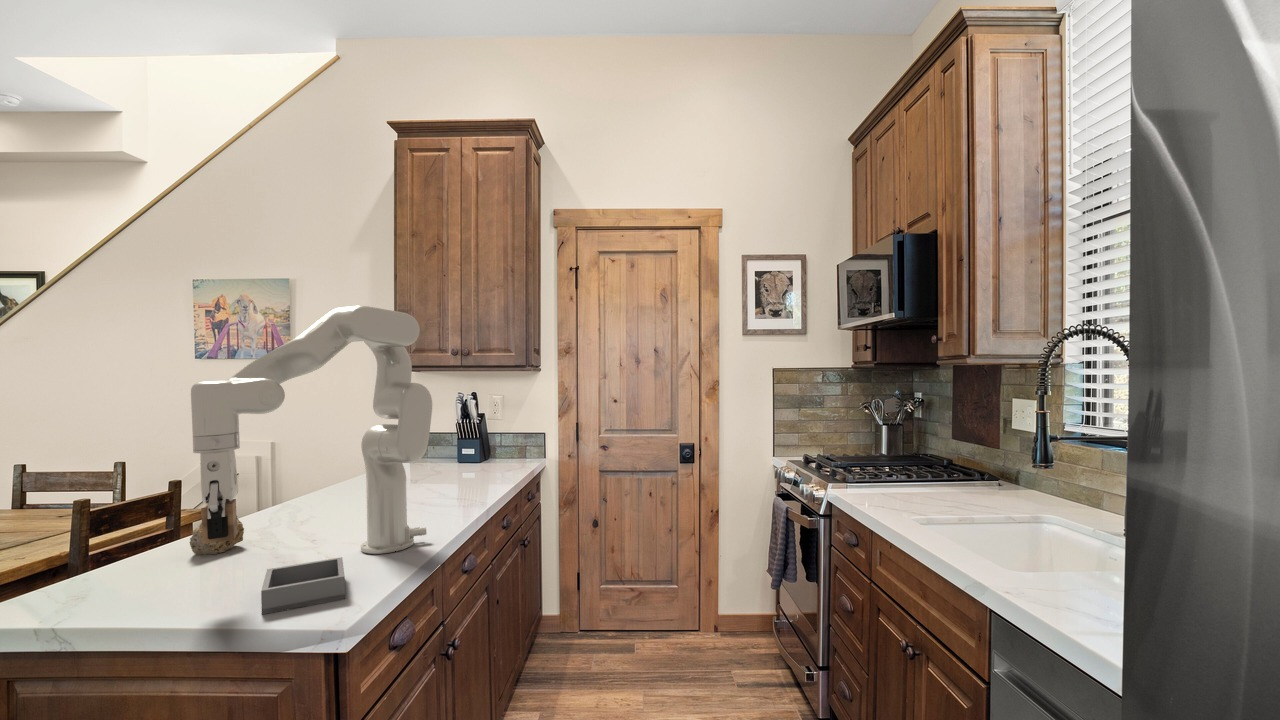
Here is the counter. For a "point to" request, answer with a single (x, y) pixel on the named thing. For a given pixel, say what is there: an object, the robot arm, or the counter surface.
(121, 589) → the counter surface
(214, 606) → the counter surface
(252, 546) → the counter surface
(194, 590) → the counter surface
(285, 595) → the bin
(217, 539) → the walnut block
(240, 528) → the rock
